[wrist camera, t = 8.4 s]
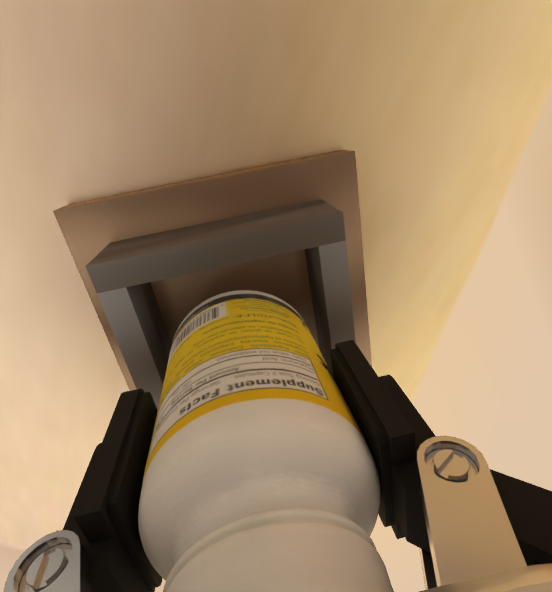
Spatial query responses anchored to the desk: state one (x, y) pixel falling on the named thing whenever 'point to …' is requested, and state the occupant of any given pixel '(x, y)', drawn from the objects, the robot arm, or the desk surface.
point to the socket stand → (223, 255)
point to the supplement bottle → (257, 461)
